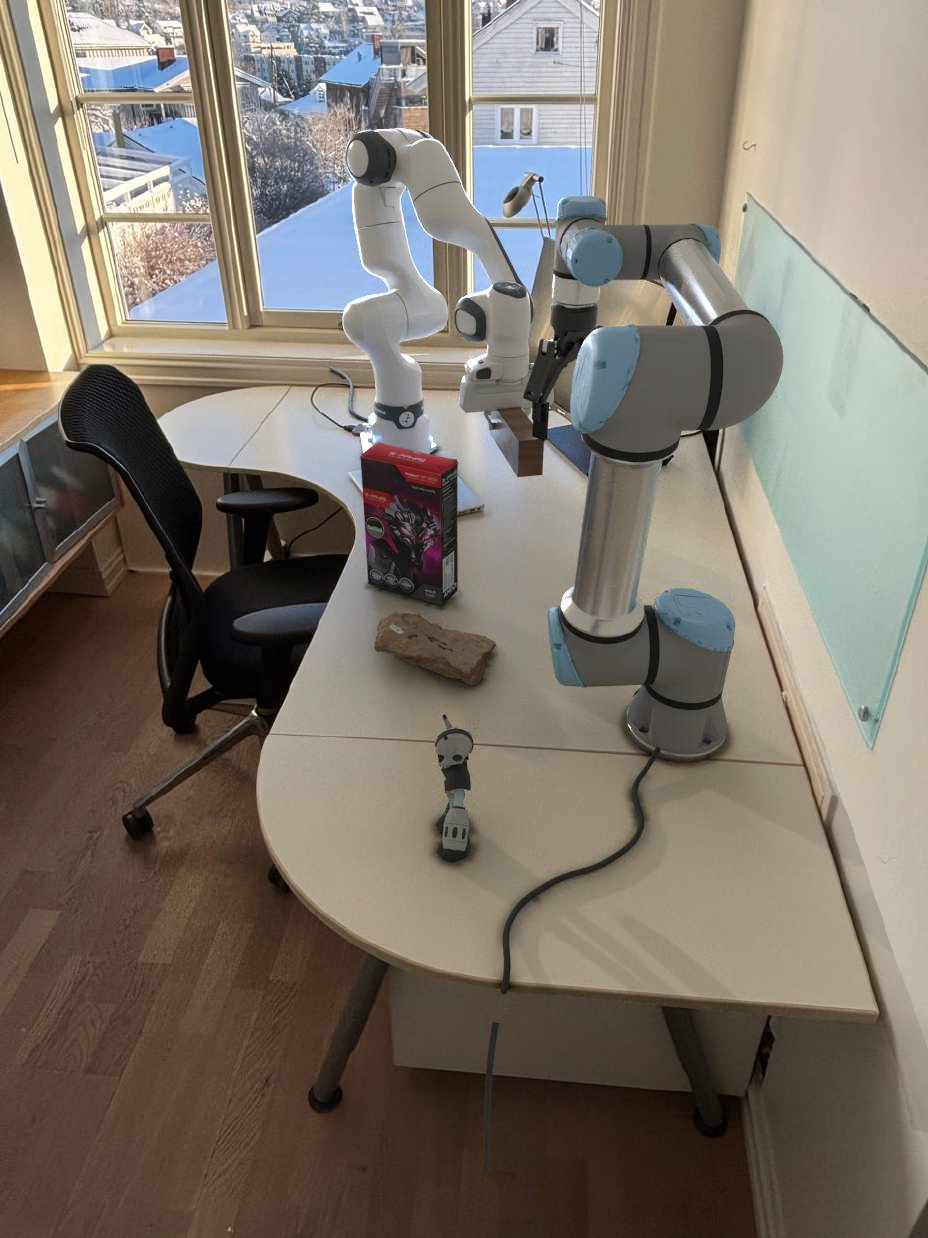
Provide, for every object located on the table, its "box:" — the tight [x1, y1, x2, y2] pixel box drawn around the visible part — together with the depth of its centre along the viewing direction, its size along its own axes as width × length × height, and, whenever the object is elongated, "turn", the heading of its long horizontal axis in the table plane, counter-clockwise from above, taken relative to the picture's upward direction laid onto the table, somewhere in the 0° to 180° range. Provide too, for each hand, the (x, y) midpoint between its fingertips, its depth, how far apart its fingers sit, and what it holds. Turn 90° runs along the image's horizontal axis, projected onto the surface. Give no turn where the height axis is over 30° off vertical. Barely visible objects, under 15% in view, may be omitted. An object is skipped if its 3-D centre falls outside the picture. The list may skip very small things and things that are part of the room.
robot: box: [433, 713, 475, 862], centre depth 119 cm, size 20×5×20 cm, turn 3°
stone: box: [373, 611, 497, 686], centre depth 156 cm, size 21×15×6 cm
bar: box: [489, 407, 545, 478], centre depth 193 cm, size 24×5×8 cm, turn 12°
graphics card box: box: [359, 442, 459, 606], centre depth 169 cm, size 17×7×27 cm, turn 62°
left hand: (505, 427), depth 200 cm, fingers closed on bar, 5 cm apart
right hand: (565, 427), depth 159 cm, fingers open, 13 cm apart
